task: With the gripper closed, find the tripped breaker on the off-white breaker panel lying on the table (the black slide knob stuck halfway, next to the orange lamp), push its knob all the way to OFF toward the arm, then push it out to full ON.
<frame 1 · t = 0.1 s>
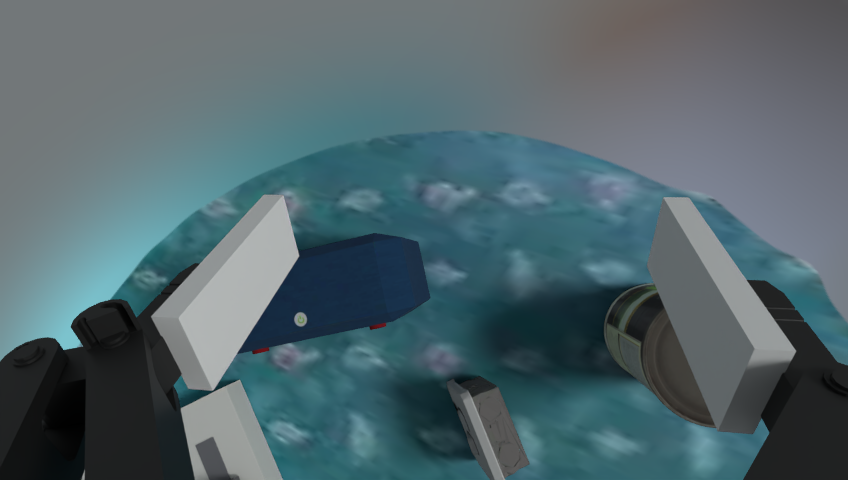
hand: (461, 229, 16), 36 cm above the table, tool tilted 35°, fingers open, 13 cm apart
coffee can: (652, 331, 49), on the table
electrical switch: (483, 409, 51), on the table
radio: (341, 290, 55), on the table
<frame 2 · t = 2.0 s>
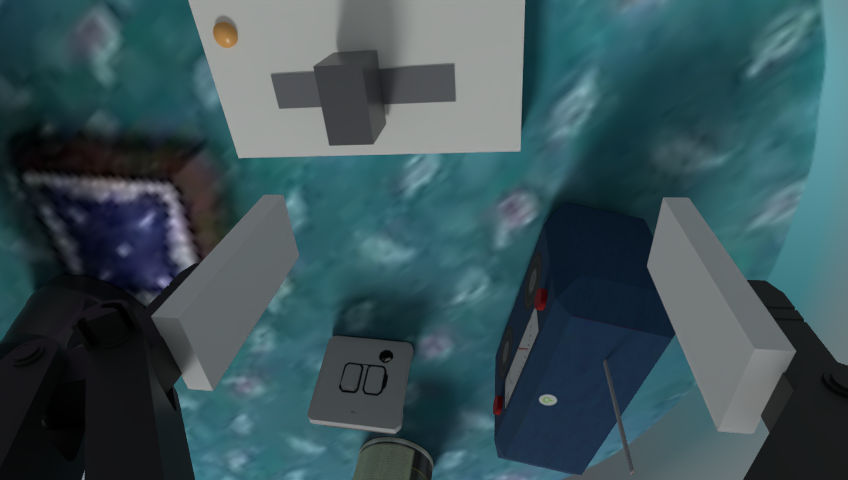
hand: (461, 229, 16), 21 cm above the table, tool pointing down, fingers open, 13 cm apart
coffee can: (396, 457, 63), on the table
electrical switch: (376, 353, 52), on the table
tripped breaker: (353, 97, 30), point 5 cm above the table, slide at 0.0 cm
radio: (557, 295, 44), on the table
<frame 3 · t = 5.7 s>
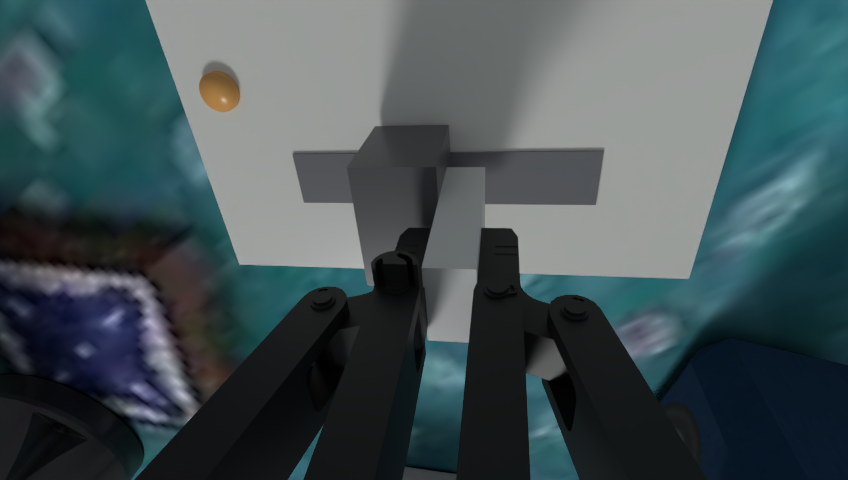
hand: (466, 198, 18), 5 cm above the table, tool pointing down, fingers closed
tripped breaker: (408, 204, 18), point 5 cm above the table, slide at -1.0 cm, touching gripper
radio: (680, 436, 32), on the table
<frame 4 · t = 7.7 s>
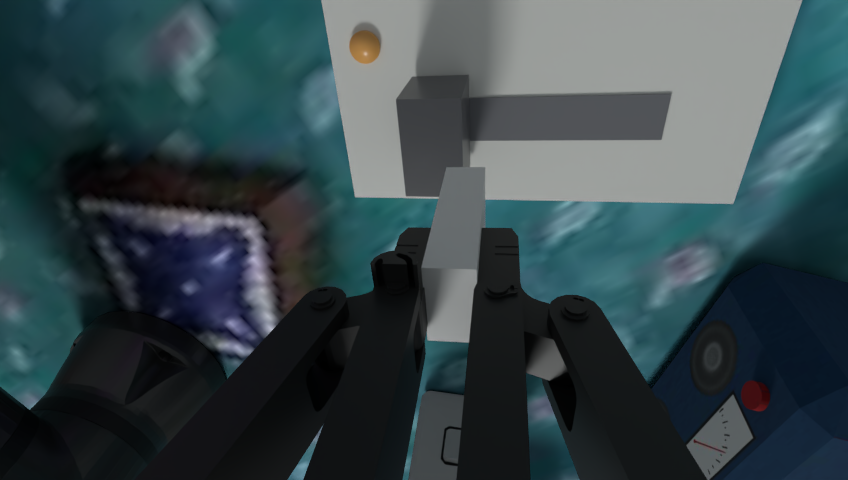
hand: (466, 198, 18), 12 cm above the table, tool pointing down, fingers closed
electrical switch: (473, 410, 45), on the table
tripped breaker: (437, 135, 24), point 5 cm above the table, slide at -5.1 cm
radio: (713, 362, 36), on the table
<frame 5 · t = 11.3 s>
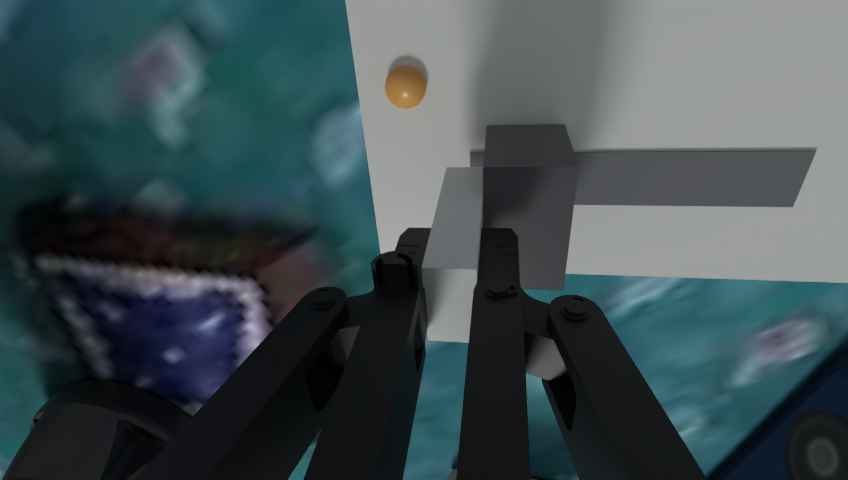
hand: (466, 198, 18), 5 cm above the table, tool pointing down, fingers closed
tripped breaker: (523, 205, 18), point 5 cm above the table, slide at -4.3 cm, touching gripper
radio: (799, 444, 31), on the table
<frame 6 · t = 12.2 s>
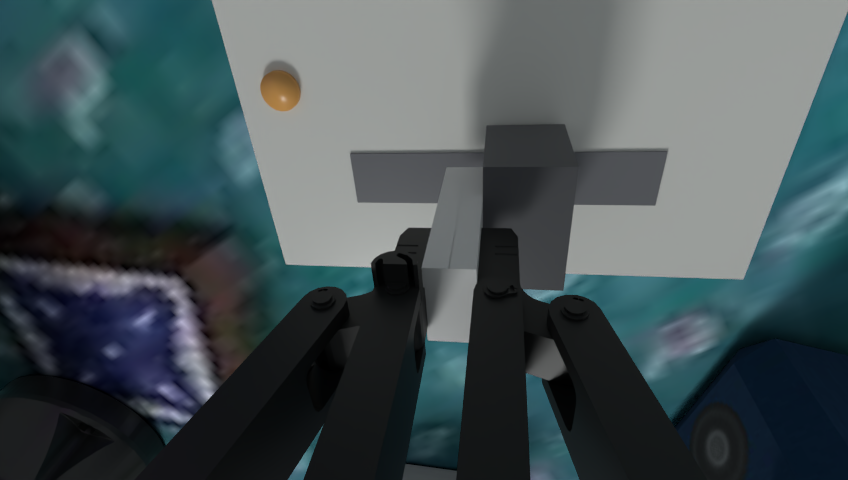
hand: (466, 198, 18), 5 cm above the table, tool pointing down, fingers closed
tripped breaker: (523, 205, 18), point 5 cm above the table, slide at 0.9 cm, touching gripper
radio: (714, 437, 32), on the table
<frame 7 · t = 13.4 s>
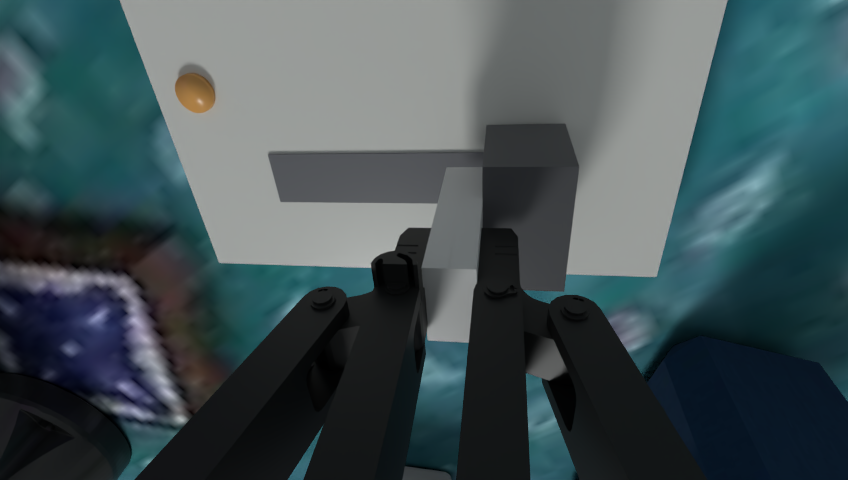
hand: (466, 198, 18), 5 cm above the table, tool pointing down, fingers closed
electrical switch: (401, 477, 40), on the table
tripped breaker: (524, 205, 18), point 5 cm above the table, slide at 4.7 cm, touching gripper
radio: (658, 433, 32), on the table
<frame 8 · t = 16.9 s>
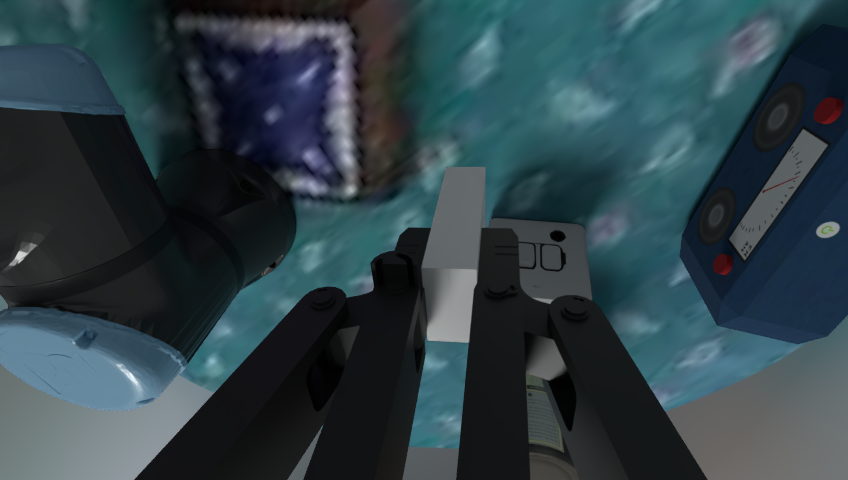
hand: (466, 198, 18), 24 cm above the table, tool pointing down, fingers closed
coffee can: (524, 373, 58), on the table
electrical switch: (534, 240, 48), on the table
radio: (767, 158, 40), on the table
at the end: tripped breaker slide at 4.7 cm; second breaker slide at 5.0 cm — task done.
